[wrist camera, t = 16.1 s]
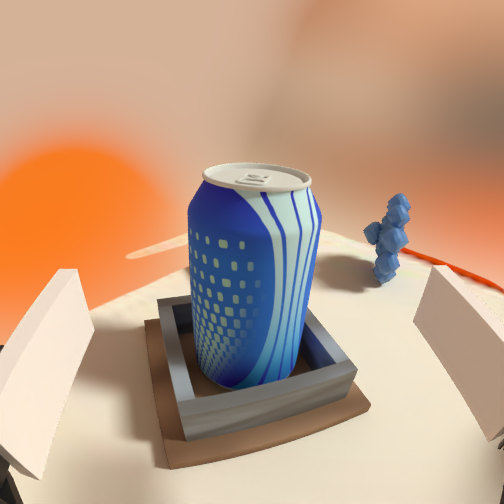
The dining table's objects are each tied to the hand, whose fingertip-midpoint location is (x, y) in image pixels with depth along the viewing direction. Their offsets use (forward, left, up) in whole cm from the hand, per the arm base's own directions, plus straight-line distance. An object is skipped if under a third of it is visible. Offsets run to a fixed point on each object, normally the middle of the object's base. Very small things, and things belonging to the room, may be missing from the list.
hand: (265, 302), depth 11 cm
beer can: (+10, -3, -14) cm, 17 cm away
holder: (+9, -3, -15) cm, 18 cm away
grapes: (+20, -27, -15) cm, 37 cm away
